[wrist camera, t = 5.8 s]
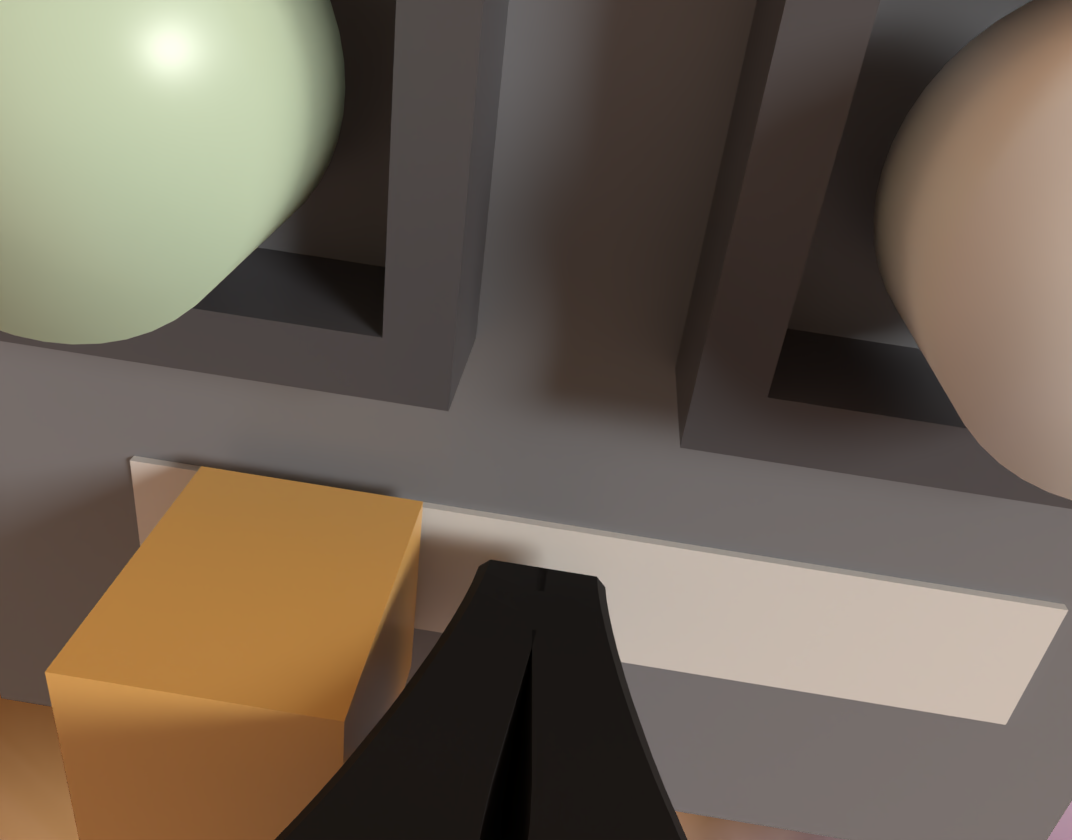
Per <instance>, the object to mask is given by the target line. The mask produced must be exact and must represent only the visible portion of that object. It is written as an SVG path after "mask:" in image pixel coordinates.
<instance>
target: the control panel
mask: <svg viewBox="0 0 1072 840" xmlns="http://www.w3.org/2000/svg"><path fill="white" fill-rule="evenodd" d="M1031 1H1033V0H330V2H331V5H332V8H333V12H334V15H335V18H336V22H337V25H338V29H339V33H340V39H341V45H342V51H343V57H344V69H345V100H344V112H343V119H342V123H341V128H340V133H339V138H338V141H337V144H336V147H335V150H334V152H333V155H332V158H331V161H330V163H329V165H328V167H327V169H326V171H325V173H324V175H323V176H322V178H321V180H320V182H319V184H318V185H317V186H316V188H315V189H314V191H313V192H312V193H311V195H310V196H309V197H308V199H307V200H306V201H305V202H304V203H303V204H302V205H301V206H300V207H299V208H298V209H297V210H296V211H295V212H294V213H293V214H292V215H291V216H290V217H289V218H288V219H287V220H286V221H285V222H284V223H283V224H282V225H281V226H280V227H279V228H277V229H276V230H275V231H274V232H273V233H272V234H271V235H270V236H269V237H268V238H267V239H266V240H265V241H264V242H263V243H262V244H260V245H259V246H258V247H257V248H256V249H255V250H254V251H253V252H252V253H251V254H250V255H249V256H248V257H247V258H246V259H245V260H243V261H242V262H241V263H240V264H239V265H238V266H237V267H236V268H235V269H234V270H233V271H232V272H231V273H230V274H229V275H228V276H227V277H225V278H224V279H223V280H222V281H221V282H220V283H219V284H218V285H217V286H216V287H215V288H214V289H213V290H212V291H211V292H210V293H208V294H207V295H206V296H205V297H204V298H203V299H202V300H201V301H200V302H199V303H198V304H197V305H196V306H194V307H193V308H191V309H190V310H189V311H187V312H186V313H184V314H183V315H181V316H180V317H179V318H177V319H176V320H174V321H172V322H170V323H168V324H166V325H164V326H162V327H160V328H158V329H156V330H154V331H152V332H149V333H145V334H142V335H139V336H136V337H133V338H129V339H126V340H120V341H114V342H107V343H101V344H63V343H52V342H43V341H38V340H34V339H29V338H24V337H20V336H15V335H12V334H9V333H6V332H3V331H0V695H1V698H4V699H9V700H15V701H21V702H27V703H33V704H39V705H45V706H51V707H52V704H51V700H50V695H49V690H48V685H47V680H46V675H45V671H46V670H47V668H48V667H49V666H50V664H51V663H52V662H53V660H54V659H55V658H56V657H57V655H58V654H59V653H60V651H61V650H62V649H63V647H64V646H65V645H66V643H67V642H68V641H69V639H70V638H71V637H72V635H73V634H74V633H75V632H76V630H77V629H78V628H79V626H80V625H81V624H82V622H83V621H84V620H85V618H86V617H87V616H88V614H89V613H90V612H91V610H92V609H93V608H94V607H95V605H96V604H97V603H98V601H99V600H100V599H101V597H102V596H103V595H104V593H105V592H106V591H107V589H108V588H109V587H110V585H111V584H112V583H113V582H114V580H115V579H116V578H117V576H118V575H119V574H120V572H121V571H122V570H123V568H124V567H125V566H126V564H127V563H128V562H129V560H130V559H131V558H132V557H133V555H134V554H135V553H136V551H137V550H138V549H139V547H140V546H141V545H142V543H143V542H144V541H145V539H146V538H147V537H148V535H149V534H150V533H151V532H152V530H153V529H154V528H155V526H156V525H157V524H158V522H159V521H160V520H161V518H162V517H163V516H164V514H165V513H166V512H167V510H168V509H169V508H170V507H171V505H172V504H173V503H174V501H175V500H176V499H177V497H178V496H179V495H180V493H181V492H182V491H183V489H184V488H185V487H186V485H187V484H188V483H189V482H190V480H191V479H192V478H193V476H194V475H195V474H196V472H197V471H198V470H199V468H200V467H201V466H204V467H210V468H216V469H222V470H229V471H235V472H241V473H248V474H254V475H260V476H266V477H273V478H279V479H285V480H291V481H298V482H304V483H310V484H316V485H323V486H329V487H335V488H341V489H348V490H354V491H360V492H367V493H373V494H379V495H385V496H392V497H398V498H404V499H410V500H417V501H423V511H422V525H421V538H420V552H419V566H418V580H417V593H416V607H415V621H414V635H413V648H412V662H411V668H410V671H409V674H408V678H407V681H406V684H405V687H406V685H407V684H408V682H409V681H410V680H411V678H412V677H413V675H414V674H415V673H416V671H417V670H418V668H419V667H420V666H421V664H422V663H423V661H424V660H425V659H426V657H427V656H428V654H429V653H430V652H431V650H432V649H433V647H434V646H435V644H436V643H437V641H438V640H439V638H440V636H441V635H442V633H443V632H444V630H445V629H446V627H447V626H448V624H449V622H450V621H451V619H452V618H453V616H454V614H455V613H456V611H457V609H458V607H459V606H460V604H461V602H462V600H463V599H464V597H465V595H466V593H467V591H468V589H469V587H470V585H471V583H472V581H473V579H474V576H475V574H476V572H477V569H478V567H479V566H480V565H482V564H484V563H485V562H487V561H489V560H490V559H491V560H497V561H503V562H510V563H516V564H522V565H528V566H534V567H541V568H547V569H553V570H559V571H565V572H572V573H578V574H584V575H590V576H597V577H598V579H599V580H600V581H601V582H602V584H603V585H604V586H605V589H606V598H607V605H608V610H609V616H610V621H611V625H612V630H613V634H614V638H615V642H616V646H617V650H618V653H619V657H620V660H621V664H622V667H623V671H624V675H625V678H626V681H627V684H628V688H629V691H630V694H631V697H632V700H633V703H634V706H635V709H636V711H637V714H638V717H639V720H640V723H641V725H642V728H643V731H644V734H645V737H646V739H647V742H648V745H649V748H650V751H651V753H652V756H653V759H654V761H655V764H656V766H657V769H658V771H659V774H660V776H661V779H662V782H663V784H664V787H665V789H666V791H667V794H668V796H669V798H670V801H671V803H672V805H673V808H674V810H675V811H679V812H685V813H691V814H697V815H703V816H709V817H715V818H721V819H727V820H733V821H739V822H745V823H751V824H757V825H763V826H769V827H775V828H781V829H787V830H793V831H798V832H804V833H810V834H816V835H822V836H828V837H834V838H840V839H846V840H1047V839H1048V837H1049V836H1050V834H1051V832H1052V831H1053V829H1054V828H1055V826H1056V825H1057V823H1058V821H1059V820H1060V818H1061V817H1062V815H1063V814H1064V812H1065V810H1066V809H1067V807H1068V806H1069V804H1070V803H1071V801H1072V500H1069V499H1066V498H1064V497H1061V496H1058V495H1055V494H1052V493H1049V492H1047V491H1045V490H1043V489H1041V488H1039V487H1037V486H1035V485H1033V484H1031V483H1029V482H1027V481H1025V480H1023V479H1021V478H1020V477H1018V476H1017V475H1015V474H1014V473H1012V472H1011V471H1010V470H1008V469H1007V468H1005V467H1004V466H1002V465H1001V464H1000V463H998V462H997V461H996V460H995V459H994V458H993V457H992V456H991V455H990V454H989V453H988V452H987V451H986V450H985V449H984V448H983V447H982V446H980V444H979V443H978V442H977V440H976V439H975V438H974V436H973V435H972V434H971V433H970V431H969V430H968V429H967V427H966V426H965V425H964V423H963V422H962V420H961V418H960V416H959V415H958V413H957V411H956V410H955V408H954V406H953V404H952V403H951V401H950V399H949V398H948V396H947V394H946V393H945V391H944V389H943V387H942V386H941V384H940V382H939V381H938V379H937V377H936V376H935V374H934V372H933V370H932V369H931V367H930V365H929V364H928V362H927V360H926V359H925V357H924V355H923V353H922V352H921V350H920V348H919V347H918V345H917V343H916V342H915V340H914V338H913V336H912V335H911V333H910V331H909V330H908V328H907V326H906V325H905V323H904V321H903V319H902V318H901V316H900V314H899V313H898V311H897V309H896V307H895V305H894V304H893V302H892V300H891V298H890V296H889V294H888V292H887V290H886V288H885V285H884V282H883V279H882V276H881V274H880V271H879V267H878V262H877V256H876V251H875V246H874V211H875V201H876V193H877V189H878V185H879V181H880V177H881V173H882V169H883V166H884V163H885V161H886V158H887V155H888V153H889V150H890V147H891V145H892V142H893V140H894V138H895V136H896V134H897V132H898V131H899V129H900V127H901V125H902V123H903V121H904V119H905V117H906V115H907V114H908V112H909V111H910V109H911V108H912V106H913V105H914V103H915V102H916V100H917V99H918V98H919V96H920V95H921V93H922V92H923V90H924V89H925V88H926V86H927V85H928V84H929V83H930V82H931V81H932V79H933V78H934V77H935V76H936V75H937V74H938V72H939V71H940V70H941V69H942V68H943V67H944V65H945V64H946V63H947V62H949V61H950V60H951V59H952V58H953V57H954V56H955V55H956V54H957V53H958V52H959V51H960V50H961V49H962V48H963V47H964V46H966V45H967V44H968V43H969V42H970V41H971V40H973V39H974V38H975V37H976V36H978V35H979V34H980V33H982V32H983V31H984V30H986V29H987V28H988V27H990V26H991V25H992V24H994V23H995V22H996V21H998V20H1000V19H1001V18H1003V17H1005V16H1006V15H1008V14H1010V13H1011V12H1013V11H1015V10H1016V9H1018V8H1020V7H1021V6H1023V5H1025V4H1026V3H1029V2H1031Z"/></svg>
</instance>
